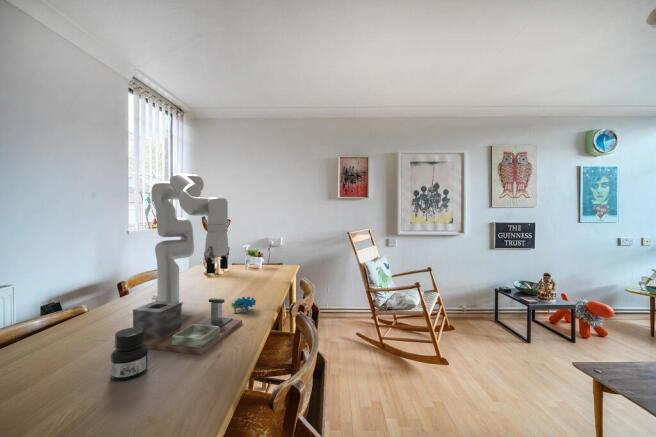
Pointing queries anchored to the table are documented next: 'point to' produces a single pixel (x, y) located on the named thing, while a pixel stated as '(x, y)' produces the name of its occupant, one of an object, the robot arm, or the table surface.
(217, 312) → the grey capped block
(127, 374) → the ink bottle
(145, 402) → the table surface
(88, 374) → the table surface
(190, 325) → the workbench
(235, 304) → the blue lumpy piece
